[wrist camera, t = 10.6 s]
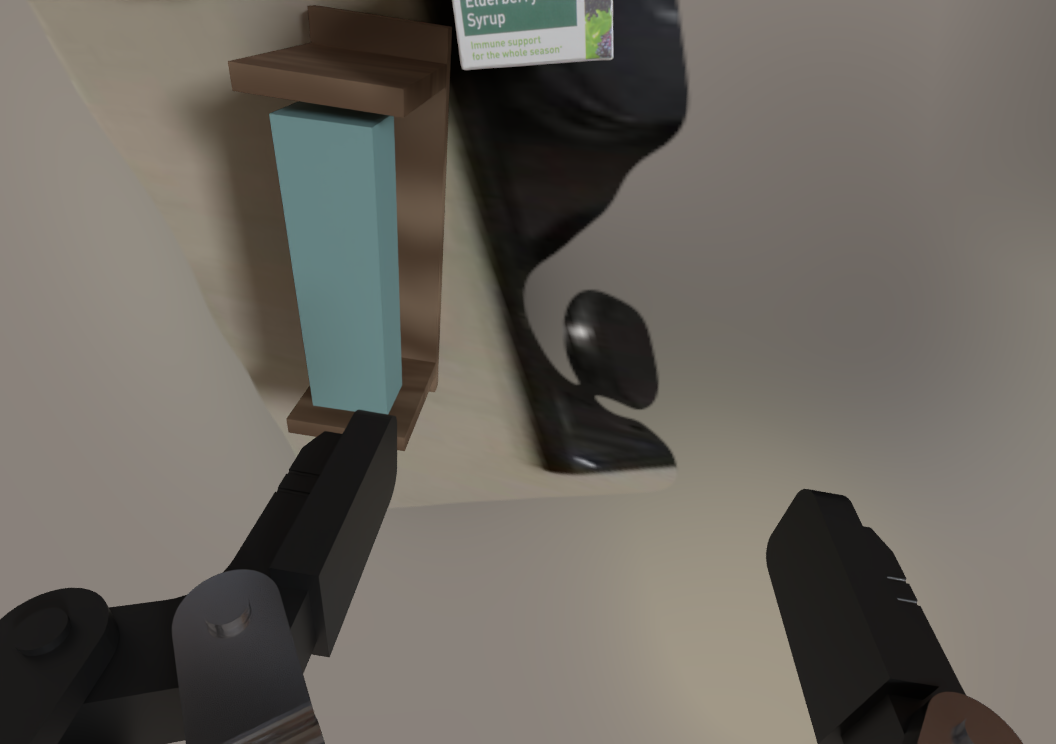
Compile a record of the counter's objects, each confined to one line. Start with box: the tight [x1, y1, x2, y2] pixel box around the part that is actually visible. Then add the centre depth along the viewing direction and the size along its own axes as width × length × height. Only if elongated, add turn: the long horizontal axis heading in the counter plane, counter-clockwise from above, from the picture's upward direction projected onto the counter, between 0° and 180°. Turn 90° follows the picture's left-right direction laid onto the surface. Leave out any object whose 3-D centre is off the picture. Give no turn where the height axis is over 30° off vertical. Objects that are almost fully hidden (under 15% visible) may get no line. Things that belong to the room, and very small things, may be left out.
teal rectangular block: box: [269, 101, 402, 414], centre depth 33 cm, size 18×5×4 cm, turn 174°
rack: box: [228, 5, 452, 451], centre depth 36 cm, size 26×8×10 cm, turn 173°
